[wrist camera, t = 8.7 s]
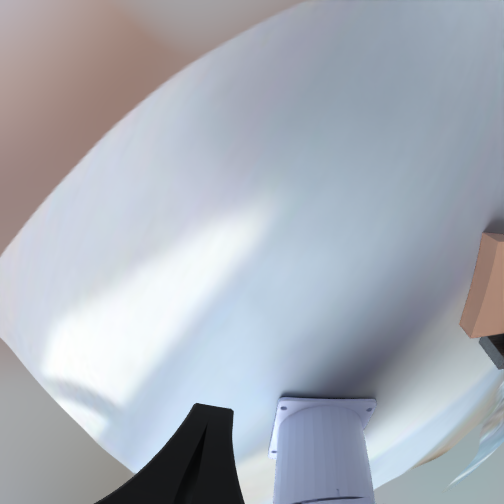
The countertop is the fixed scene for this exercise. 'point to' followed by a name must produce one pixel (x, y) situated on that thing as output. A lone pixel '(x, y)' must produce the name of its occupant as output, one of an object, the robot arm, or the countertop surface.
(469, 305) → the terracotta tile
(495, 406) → the countertop surface
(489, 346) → the low gray notched block
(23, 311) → the countertop surface
